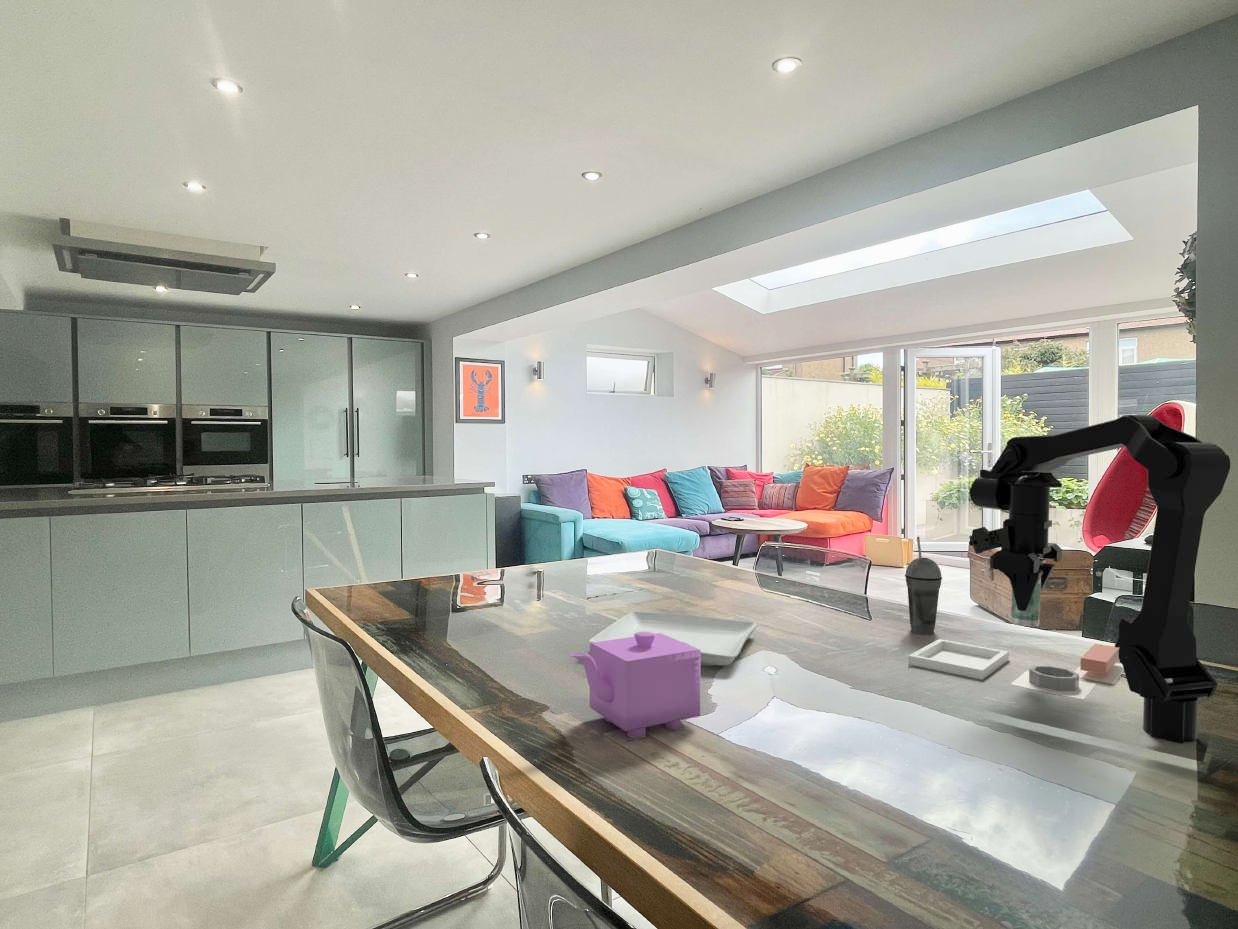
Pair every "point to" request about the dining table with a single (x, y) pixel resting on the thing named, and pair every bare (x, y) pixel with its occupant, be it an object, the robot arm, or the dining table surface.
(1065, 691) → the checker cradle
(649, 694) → the teapot
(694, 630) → the square plate
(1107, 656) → the bar
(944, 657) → the white rectangular tray
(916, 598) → the beverage cup
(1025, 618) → the silver cell
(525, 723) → the dining table surface
